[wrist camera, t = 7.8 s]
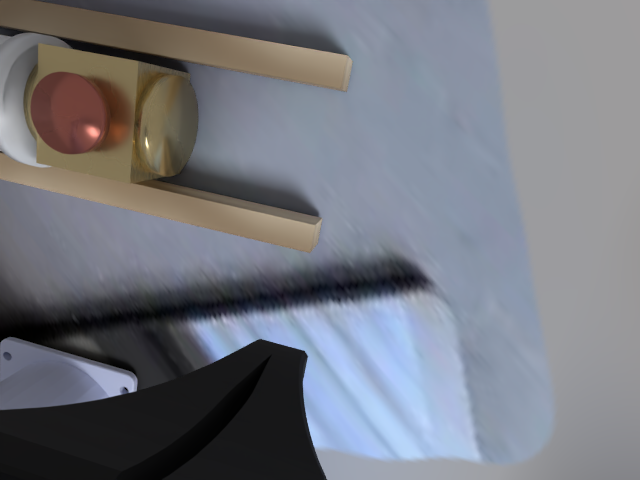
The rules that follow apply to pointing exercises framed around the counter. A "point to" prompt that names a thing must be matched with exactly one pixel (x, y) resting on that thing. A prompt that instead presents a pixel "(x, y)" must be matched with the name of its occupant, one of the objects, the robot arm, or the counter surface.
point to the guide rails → (189, 46)
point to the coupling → (19, 93)
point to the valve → (109, 115)
